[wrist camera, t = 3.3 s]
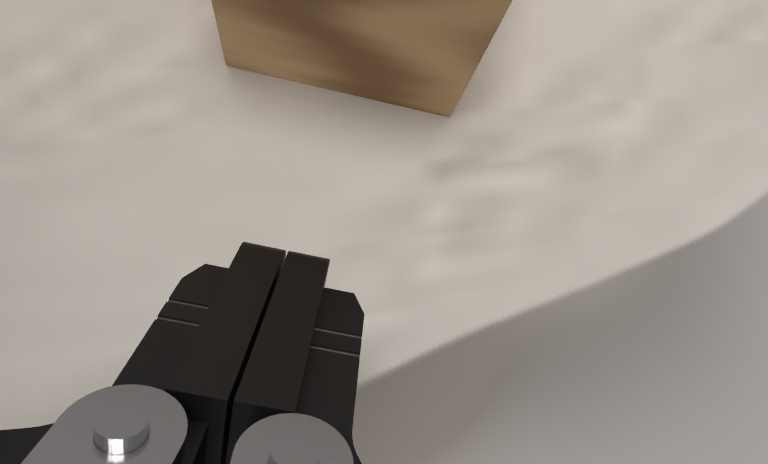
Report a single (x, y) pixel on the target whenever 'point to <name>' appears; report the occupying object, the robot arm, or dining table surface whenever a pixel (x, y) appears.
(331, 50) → the oak block
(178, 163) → the dining table surface
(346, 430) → the robot arm
